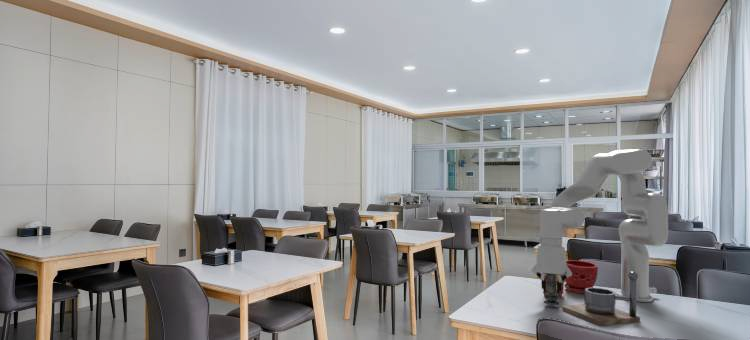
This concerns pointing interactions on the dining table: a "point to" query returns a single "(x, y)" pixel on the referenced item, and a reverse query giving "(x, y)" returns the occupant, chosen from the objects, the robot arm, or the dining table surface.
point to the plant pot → (581, 276)
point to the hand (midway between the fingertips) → (551, 291)
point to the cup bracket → (606, 305)
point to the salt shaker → (551, 290)
